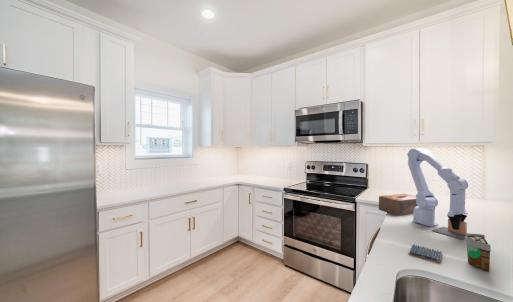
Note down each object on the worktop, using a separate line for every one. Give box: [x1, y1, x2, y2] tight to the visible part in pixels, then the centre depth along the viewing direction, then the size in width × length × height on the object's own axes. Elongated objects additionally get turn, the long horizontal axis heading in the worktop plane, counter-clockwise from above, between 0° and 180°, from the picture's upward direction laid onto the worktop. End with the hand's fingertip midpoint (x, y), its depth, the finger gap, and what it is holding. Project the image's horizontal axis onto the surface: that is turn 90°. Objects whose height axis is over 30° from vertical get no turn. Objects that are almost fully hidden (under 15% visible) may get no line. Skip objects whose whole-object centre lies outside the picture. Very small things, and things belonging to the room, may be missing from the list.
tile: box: [447, 218, 468, 235], centre depth 112 cm, size 7×2×6 cm, turn 26°
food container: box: [463, 233, 492, 273], centre depth 82 cm, size 12×6×10 cm, turn 141°
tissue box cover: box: [378, 193, 419, 217], centre depth 152 cm, size 26×14×10 cm, turn 111°
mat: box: [431, 226, 470, 241], centre depth 112 cm, size 12×12×1 cm
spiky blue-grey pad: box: [408, 243, 443, 264], centre depth 89 cm, size 10×11×2 cm
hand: (456, 228), depth 112 cm, fingers open, 3 cm apart
